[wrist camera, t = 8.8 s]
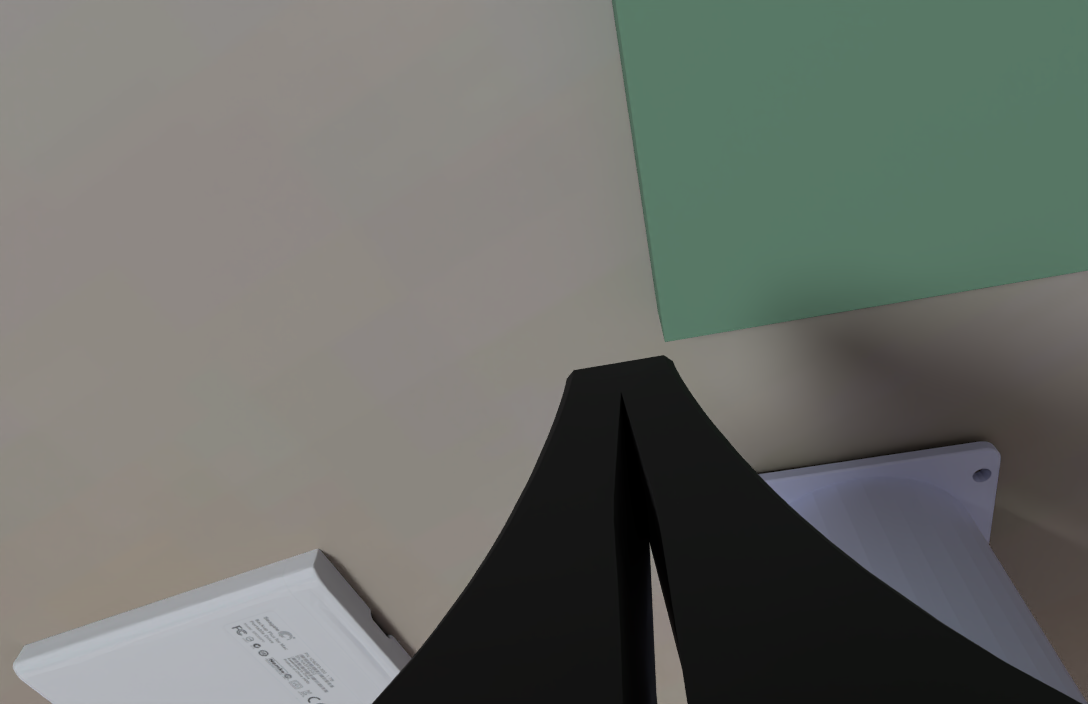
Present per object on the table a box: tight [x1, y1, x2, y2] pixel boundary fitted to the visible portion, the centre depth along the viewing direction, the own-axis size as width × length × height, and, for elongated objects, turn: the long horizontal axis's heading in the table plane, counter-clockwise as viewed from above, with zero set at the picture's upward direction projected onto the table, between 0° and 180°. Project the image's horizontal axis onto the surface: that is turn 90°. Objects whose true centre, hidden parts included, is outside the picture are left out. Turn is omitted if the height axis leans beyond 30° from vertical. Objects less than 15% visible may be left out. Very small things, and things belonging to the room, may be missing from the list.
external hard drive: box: [13, 549, 412, 704], centre depth 29 cm, size 2×8×12 cm
